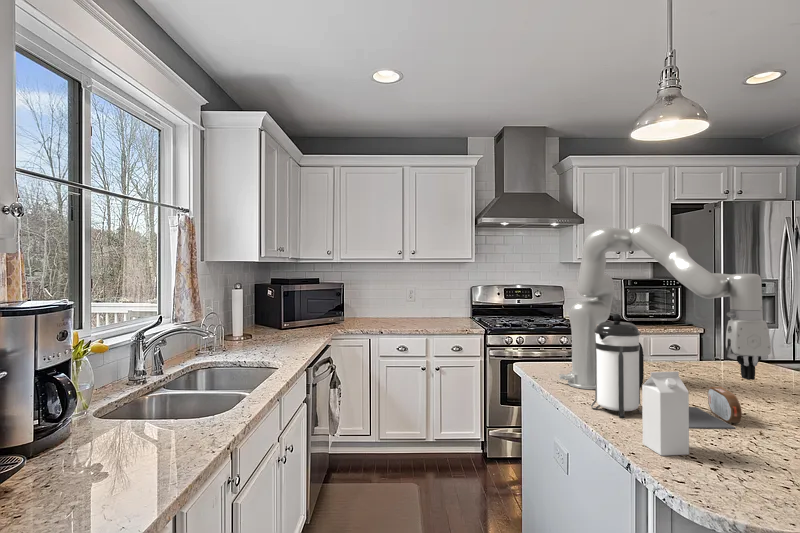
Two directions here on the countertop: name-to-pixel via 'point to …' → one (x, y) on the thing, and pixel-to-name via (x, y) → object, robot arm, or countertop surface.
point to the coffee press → (618, 366)
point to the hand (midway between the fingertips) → (748, 378)
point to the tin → (724, 404)
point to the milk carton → (665, 414)
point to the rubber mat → (705, 420)
